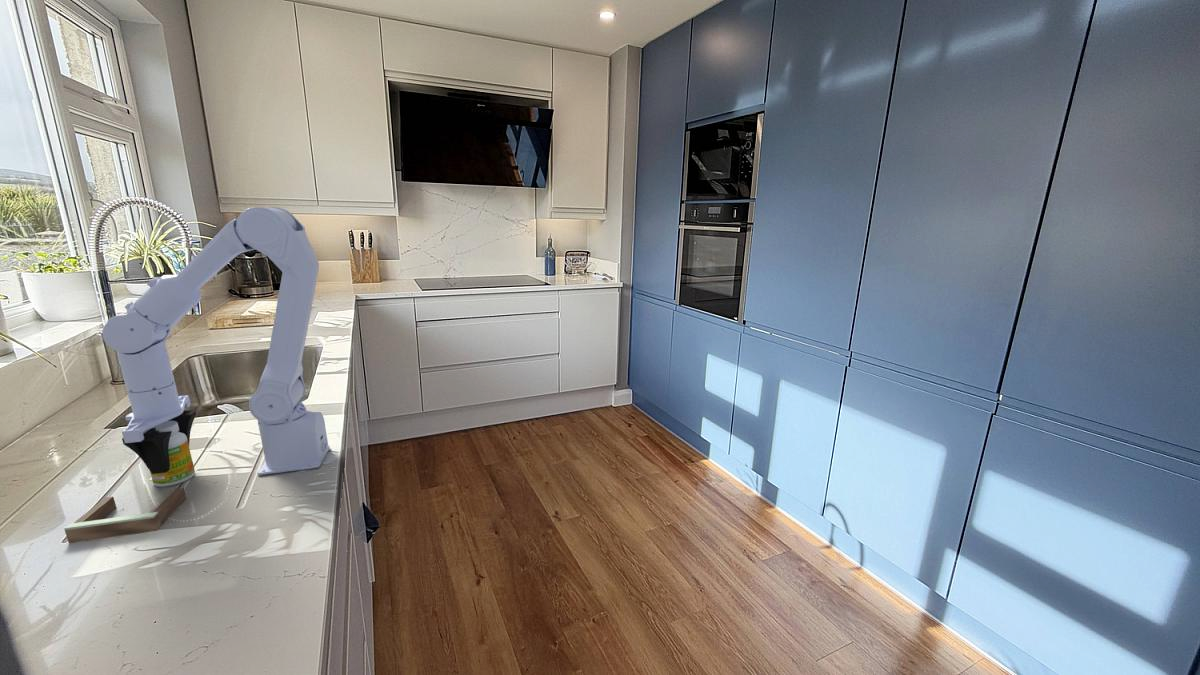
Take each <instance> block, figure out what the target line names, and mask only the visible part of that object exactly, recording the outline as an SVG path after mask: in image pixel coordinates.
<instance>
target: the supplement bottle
mask: <svg viewBox="0 0 1200 675" xmlns="http://www.w3.org/2000/svg"><path fill="white" fill-rule="evenodd" d="M157 430H158V431H159V432H168V431H172V433H171V436H170V440H169V446H168V453H169V461H170V468H169V471H168V472H166V473H157V474H152V473H151V472H150V471H149V473H150V476H151V481H152V483H153V485H154V486H156V487H159V488H161V487H171V486H175V485H178V484H181V483H182V484H183V483H184V482H186V481H188V480H190V479H191V478H193V476H194V475H195V473H196V470H195V466H194V461H193V457H192V454H191V453H192V452H191V449H190V443H189V444H188V440H187V436H186V435H185V434H184V433H181V432H178V431H179V426H178V423H177V422H176V421H166V422H164V423H162V424H160V425H159V426H157V427H156V431H157Z"/></svg>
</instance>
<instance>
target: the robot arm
mask: <svg viewBox="0 0 1200 675" xmlns="http://www.w3.org/2000/svg"><path fill="white" fill-rule="evenodd" d="M254 250H256V251H258V252H260V253H262V254H263V255H265V256H267V257H268V258H269V259H270V261H271V262H273V264H274V265H275V266H276V267H277V268H278V269H279V270H280V271H281V272H282V274H281V280H280V286H279V290H278V297H277V302H276V309H275V314H274V320H273V325H272V326H273V327H272V330H271V331H272V332H271V336H270V343H269V349H268V354H267V360H266V364H265V368H264V369H263V372H262V374H261V377H260V380H259V384H258V388H257V389H256V391H255V392H254V393H253V394H252V396H250V399H249V401H248V410H249V412H250V415H252V417H254V418H255V419H256V420H257V425H258V430H259V435H260V439H261V445H262V449H263V455H264V460H265V462H264V463H263V464H262V466H261V467H260V468H259V470H257V472H256V474H257V476H263V475H264V476H265V475H272V474H277V473H278V474H279V473H287V472H294V471H301V470H302V471H304V470H310V469H316V468H317V469H318V468H319V467H320V466H321V465H322V462H323V461H324V459H325V458H326V455H327V454H328V452H329V450H330V447H331V446H330V445H329V442H328V435H327V430H326V423H325V418H324V415H323V413H322V412H320V411H310V410H307V407H306V406H305V404H304V403H303V402H302V400H301V399H303V397H304V395H305V394H306V384H305V382H304V378H303V372H304V367H303V364H302V361H303V355H304V351H305V346H306V340H307V334H308V329H309V328H308V327H309V324H310V317H311V311H312V306H313V302H314V296H315V291H316V285H317V280H318V275H319V269H320V267H319V266H320V264H319V261H318V258H317V256H316V254H315V252H314V249H313V247H312V245H311V242H310V240H309V238H308V236H307V233H306V228H305V226H304V225H303V224H302V223H301V222H300V221H299V220H298V219H297V218H296V217H295V216H294V215H293V214H292V213H291V212H290V211H289V210H286V209H284V208H281V207H275V206H273V207H272V206H271V207H262V206H252V207H249V208H247V209H245V210H243V211H241V213H240V214H239V215H238V217H237V218H235V219H232V220H231V221H229V222H228V223H226V224H225V225H224V226H223V227H222V228H221V229H220V231H219V232H218V233H217V234H215V236H213V238H212V239H211V240H209V242H208V243H207V244H206V245H205V246H204V247H203V248H202V249H201V250H200V251H199V252H198V253H197V255H196V256H195V257H193V259H192V260H190V262H189V263H188V264H186V266H185V267H184V268H183V269H182V270H181V271H180V272H179V273H178V274H164V275H161V277H160V278H159V277H154V278H151V279H150V280H149V281H148V282H147V283H146V285H147V286H148V287H149V288H148V289H147V290H146V291H145V292H144V293H142V294H141V296H139V297H138V298H137V299H136V300H135V301H130V302H128V303H126V305H125V306H124V308H125V309H126V313H125V314H123V313H122V314H118V315H115V316H114V315H113V316H112V317H110V318H108V319H107V322H106V323H105V324H104V326H103V327H102V333H101V334H102V339H103V342H104V343H105V344H106V345H107V346H108V347H109V348H111V349H112V350H113V351H116V355H117V358H118V364H119V366H120V372H121V375H122V378H123V381H124V385H125V389H126V393H127V396H128V399H129V402H130V407H131V410H132V412H130V413H129V414H127V415H126V416H125V421H126V422H127V421H129V423H128V424H127V427H126V428H124V429H123V430H122V431H121V433H122V438H121V440H122V444H123V445H124V446H126V447H127V448H129V449H130V450H132V451H133V452H134V453H135V454H137V456H138V457H139V458H140V459H141V460H142V462H143V463H144V465H145V466H146V468H147V470H149V473H150V472H151V473H152V474H157V473H166V472H168V471H169V468H170V461H169V453H168V446H169V440H170V436H171V433H172V431H168V432H159V431H158V430H157V431H156V427H157V426H159V425H160V424H162V423H164V422H166V421H176V422H177V423H178V426H179V431H178V432H181V433H184V434H185V435H186V436H187V440H188V444H189V445H190V438H191V431H192V426H193V422H194V420H195V418H196V417H197V413H196V412H197V411H196V410H194V409H189V410H188V409H187V410H185V409H186V408H189V407H190V406H192V405H191V400H190V396H189V395H178V394H179V393H178V390H177V386H176V382H175V376H174V373H173V369H172V365H171V361H170V357H169V354H168V350H167V345H166V340H167V338H168V337H169V336H170V334H171V329H172V328H173V327H175V325H176V324H177V323H179V322H180V321H181V320H182V319H184V317H185V316H186V315H187V314H188V313H189V312H190V311H191V310H192V309H194V307H196V306H197V305H198V303H200V301H201V300H202V293H201V292H202V291H201V287H203V286H204V285H205V284H206V283H207V282H209V281H210V279H212V278H213V277H214V276H215V275H216V274H218V273H219V272H220V271H221V270H222V269H223V268H224V267H225V266H227V265H228V264H229V263H230V262H232V261H233V259H235V258H236V257H237V256H238V255H240V254H243V253H247V252H250V251H254ZM151 473H150V474H151Z"/></svg>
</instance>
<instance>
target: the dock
mask: <svg viewBox="0 0 1200 675" xmlns="http://www.w3.org/2000/svg"><path fill="white" fill-rule="evenodd" d="M187 500H188V497H187V494H186V489H185V487H178V488H175V489H174V490H173V491H172V492H171V493H170V494H169V495H168V496H167V497H166V498H165V499H164V500H163V501H162V502H161V503H160V504H159V505H158V506H156V507H155V509H154V510H152V511H151V512H147V513H139V514H131V515H125V516H124V515H123V516H119V517H110V518H109V517H108V516H109V515H111V514H112V513H113V512H114V511H115V510H117V504H116V501H115V498H114V496H107V497H106V496H105V497H104V498H103V499H101V500H100V501H99V502H98V503H96V504H95V505H94V506H92V507H91V508H90V509H89V510H87V512H86V513H84V514H83V515H81V517H79V518H78V519H77V520H75V521H74V522H73V523H69V524H67V525H66V526H65V527H64V532H65V535H66V539H67V542H68V543H69V544H72V543H77V542H78V543H79V542H86V541H91V540H98V539H107V538H111V537H112V538H114V537H119V536H126V535H134V534H140V533H147V532H154V531H158V530H159V529H160V528H161V527H162V526H163V525H164V524H165V523H166V522H167V520H169V518H170V517H171V516H172V515H173V514H174V513H175V512H176V511H177V510H178V509H179V507H181V505H183V504H184V502H185V501H187ZM107 517H108V518H107Z"/></svg>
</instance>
